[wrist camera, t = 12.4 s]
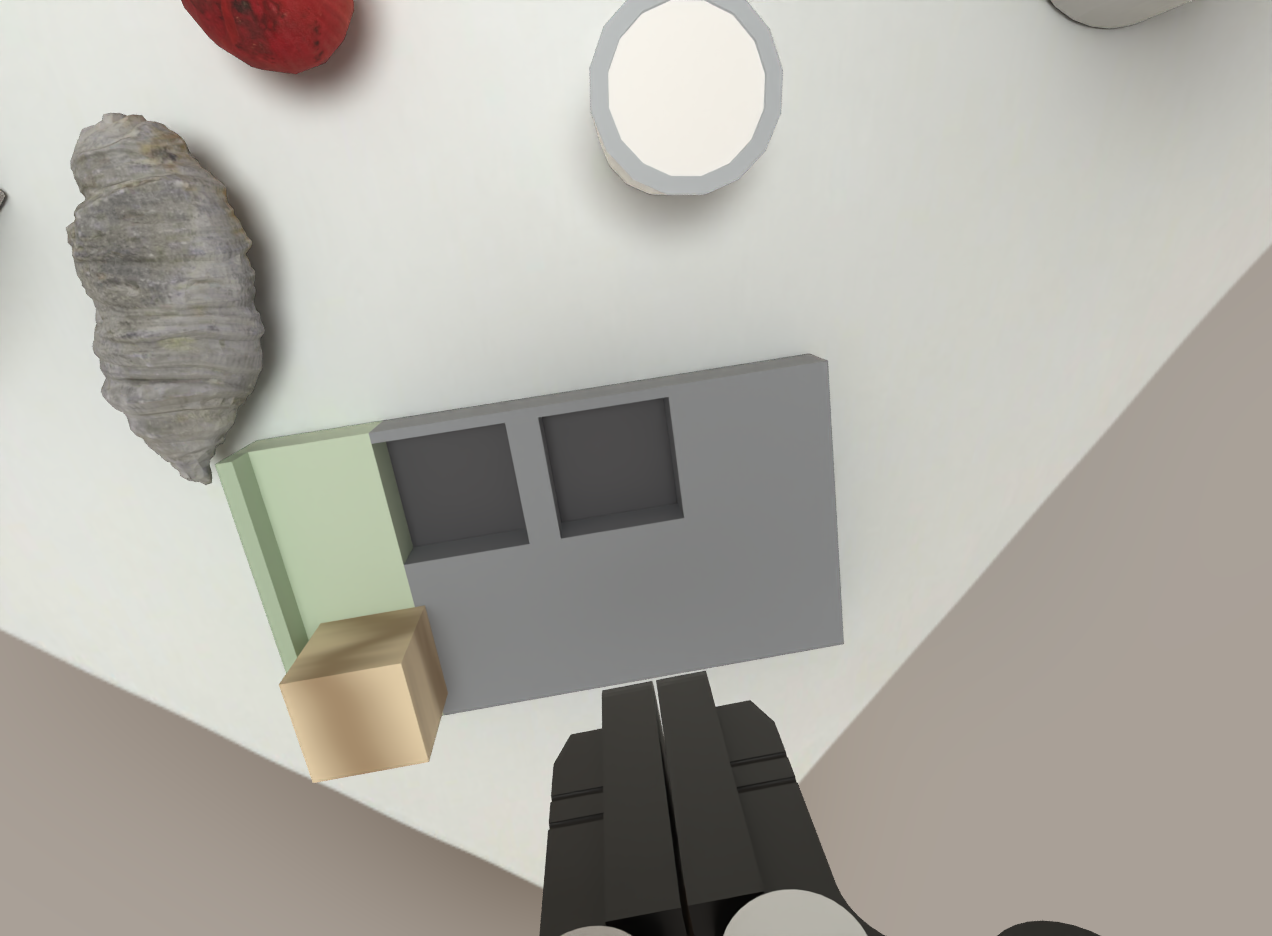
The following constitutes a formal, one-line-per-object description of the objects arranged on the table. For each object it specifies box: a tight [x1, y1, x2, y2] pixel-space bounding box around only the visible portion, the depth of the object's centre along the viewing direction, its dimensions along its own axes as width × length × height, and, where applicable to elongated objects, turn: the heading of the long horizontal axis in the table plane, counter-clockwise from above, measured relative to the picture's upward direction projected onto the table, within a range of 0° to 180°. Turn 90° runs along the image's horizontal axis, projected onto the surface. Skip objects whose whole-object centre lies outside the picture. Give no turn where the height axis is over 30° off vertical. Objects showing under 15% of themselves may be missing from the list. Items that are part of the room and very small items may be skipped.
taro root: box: [66, 113, 265, 485], centre depth 28 cm, size 6×14×8 cm, turn 179°
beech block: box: [279, 606, 448, 783], centre depth 31 cm, size 5×5×5 cm
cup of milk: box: [589, 0, 783, 195], centre depth 27 cm, size 7×7×7 cm
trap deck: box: [215, 354, 844, 716], centre depth 34 cm, size 27×15×4 cm, turn 98°
